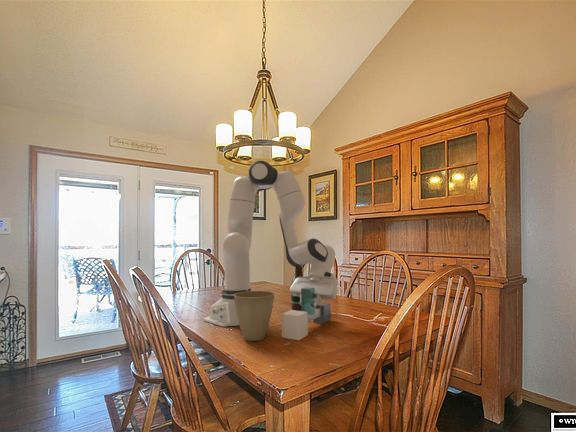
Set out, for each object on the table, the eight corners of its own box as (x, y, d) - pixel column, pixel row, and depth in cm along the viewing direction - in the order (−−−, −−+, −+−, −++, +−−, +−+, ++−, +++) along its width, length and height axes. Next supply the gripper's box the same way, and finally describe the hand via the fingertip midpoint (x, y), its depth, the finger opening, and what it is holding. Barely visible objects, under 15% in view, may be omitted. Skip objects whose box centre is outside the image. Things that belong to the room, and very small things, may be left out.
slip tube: (291, 325, 120) (290, 291, 121) (317, 313, 139) (316, 283, 139) (300, 326, 118) (300, 292, 119) (325, 314, 137) (325, 284, 137)
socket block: (281, 337, 117) (281, 313, 117) (291, 332, 123) (291, 309, 123) (298, 340, 113) (298, 316, 114) (307, 335, 119) (307, 312, 120)
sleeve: (313, 322, 136) (313, 304, 137) (320, 318, 142) (320, 301, 143) (324, 324, 134) (323, 305, 134) (330, 320, 140) (330, 302, 140)
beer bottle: (307, 309, 161) (306, 261, 162) (306, 313, 153) (306, 262, 154) (292, 309, 161) (291, 261, 163) (290, 312, 154) (290, 262, 155)
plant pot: (281, 340, 113) (280, 295, 114) (241, 347, 107) (241, 299, 108) (265, 329, 127) (265, 289, 128) (228, 335, 120) (228, 292, 121)
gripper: (294, 271, 140) (282, 298, 131) (337, 274, 129) (328, 303, 120) (299, 280, 143) (288, 307, 134) (341, 284, 133) (333, 312, 124)
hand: (307, 305), depth 127 cm, fingers closed on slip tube, 4 cm apart
